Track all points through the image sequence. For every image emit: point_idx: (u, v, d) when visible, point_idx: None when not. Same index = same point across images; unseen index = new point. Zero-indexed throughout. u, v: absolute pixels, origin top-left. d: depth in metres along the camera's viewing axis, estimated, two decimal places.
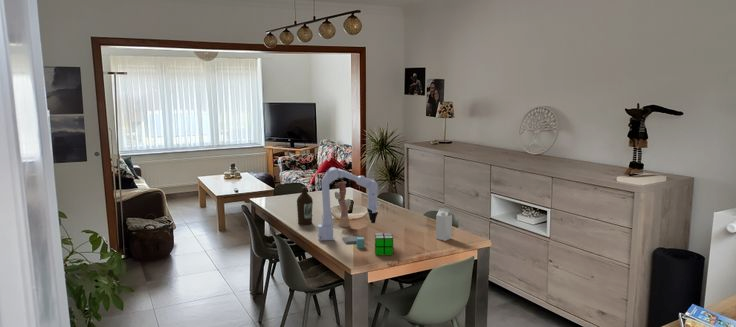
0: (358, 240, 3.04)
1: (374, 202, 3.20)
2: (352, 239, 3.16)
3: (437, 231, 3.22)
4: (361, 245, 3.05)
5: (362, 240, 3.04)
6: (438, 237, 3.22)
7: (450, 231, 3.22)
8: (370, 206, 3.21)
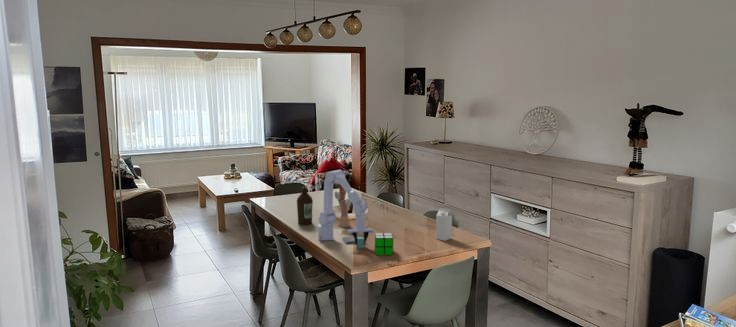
0: (358, 240, 3.04)
1: (356, 224, 3.03)
2: (352, 239, 3.16)
3: (437, 231, 3.22)
4: (361, 245, 3.05)
5: (362, 240, 3.04)
6: (438, 237, 3.22)
7: (450, 231, 3.22)
8: None
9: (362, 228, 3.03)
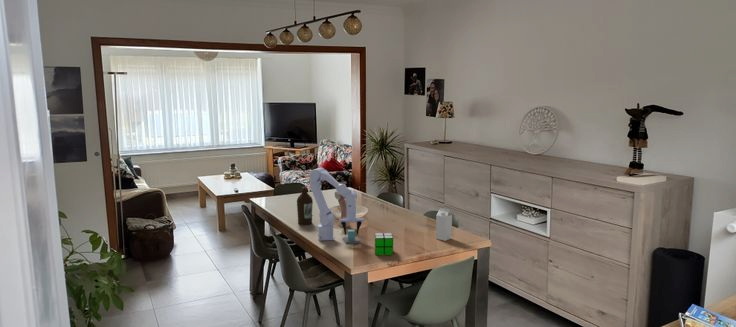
0: (349, 232, 3.15)
1: (347, 214, 3.14)
2: None
3: (437, 231, 3.22)
4: (352, 237, 3.15)
5: (353, 232, 3.15)
6: (438, 237, 3.22)
7: (450, 231, 3.22)
8: None
9: (353, 217, 3.13)
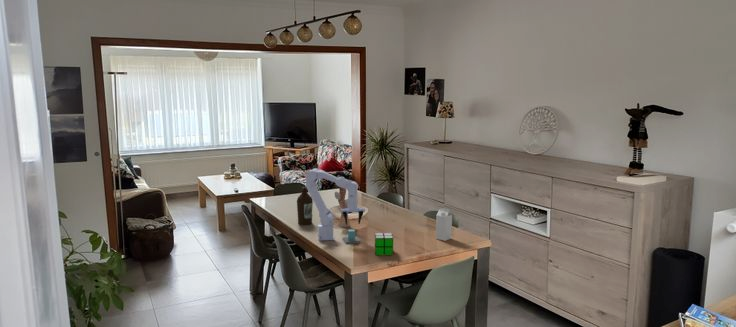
0: (349, 232, 3.15)
1: (348, 203, 3.15)
2: None
3: (437, 231, 3.22)
4: (352, 237, 3.16)
5: (353, 232, 3.15)
6: (438, 237, 3.22)
7: (450, 231, 3.22)
8: None
9: (354, 207, 3.14)
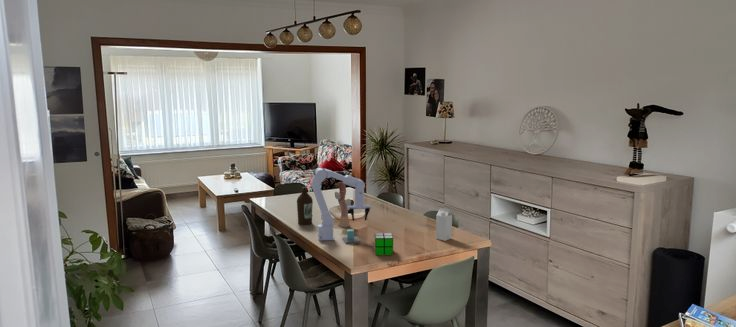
0: (348, 232, 3.15)
1: (355, 200, 3.23)
2: None
3: (437, 231, 3.22)
4: (351, 236, 3.16)
5: (352, 232, 3.15)
6: (438, 237, 3.22)
7: (450, 231, 3.22)
8: None
9: (361, 204, 3.22)
